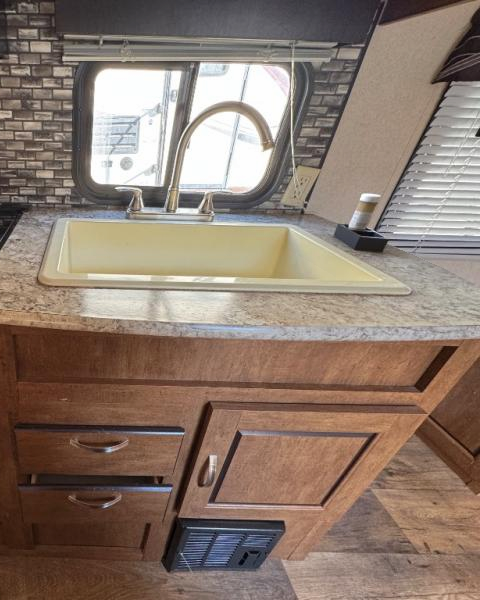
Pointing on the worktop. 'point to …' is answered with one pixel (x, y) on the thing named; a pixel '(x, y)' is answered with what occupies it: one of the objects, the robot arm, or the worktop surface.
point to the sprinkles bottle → (364, 211)
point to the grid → (361, 238)
